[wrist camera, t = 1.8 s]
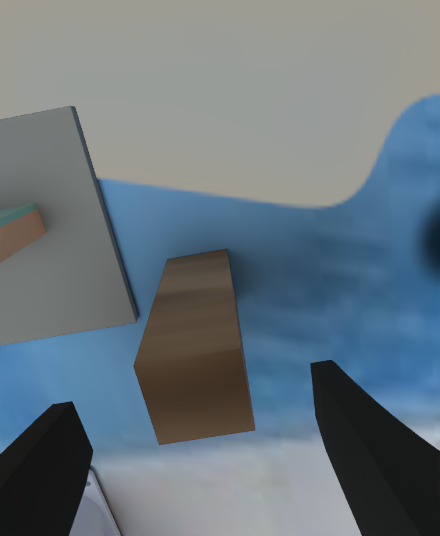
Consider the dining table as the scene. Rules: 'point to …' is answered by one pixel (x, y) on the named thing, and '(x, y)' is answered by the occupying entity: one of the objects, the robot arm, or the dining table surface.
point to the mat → (58, 234)
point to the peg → (195, 353)
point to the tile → (19, 228)
